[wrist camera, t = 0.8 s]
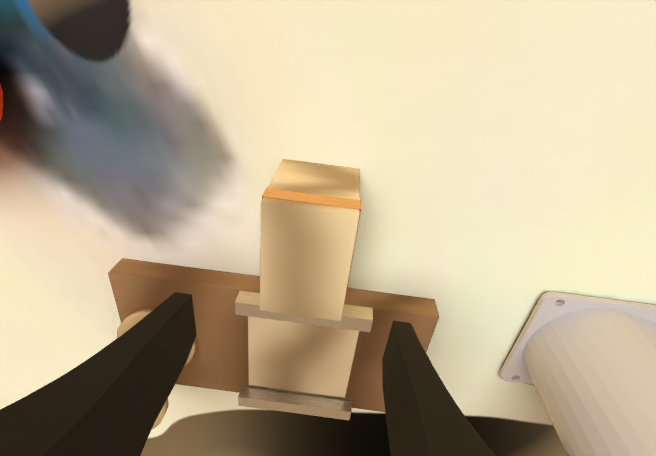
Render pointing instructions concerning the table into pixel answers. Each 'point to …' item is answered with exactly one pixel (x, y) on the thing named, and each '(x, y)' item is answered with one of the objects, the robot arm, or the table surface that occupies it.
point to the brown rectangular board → (277, 339)
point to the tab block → (308, 239)
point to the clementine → (1, 102)
